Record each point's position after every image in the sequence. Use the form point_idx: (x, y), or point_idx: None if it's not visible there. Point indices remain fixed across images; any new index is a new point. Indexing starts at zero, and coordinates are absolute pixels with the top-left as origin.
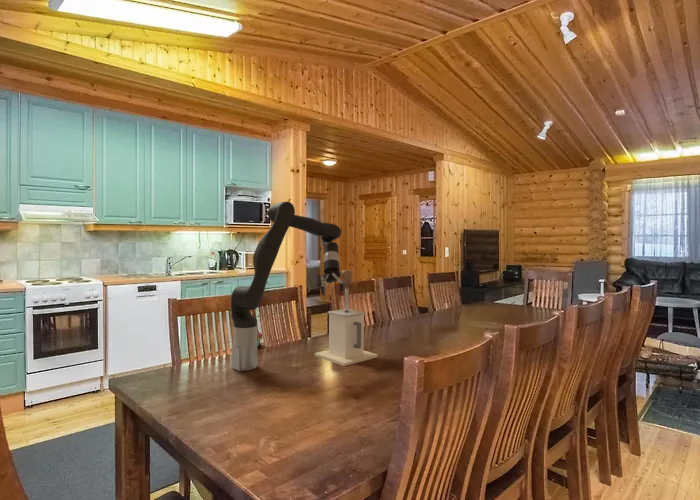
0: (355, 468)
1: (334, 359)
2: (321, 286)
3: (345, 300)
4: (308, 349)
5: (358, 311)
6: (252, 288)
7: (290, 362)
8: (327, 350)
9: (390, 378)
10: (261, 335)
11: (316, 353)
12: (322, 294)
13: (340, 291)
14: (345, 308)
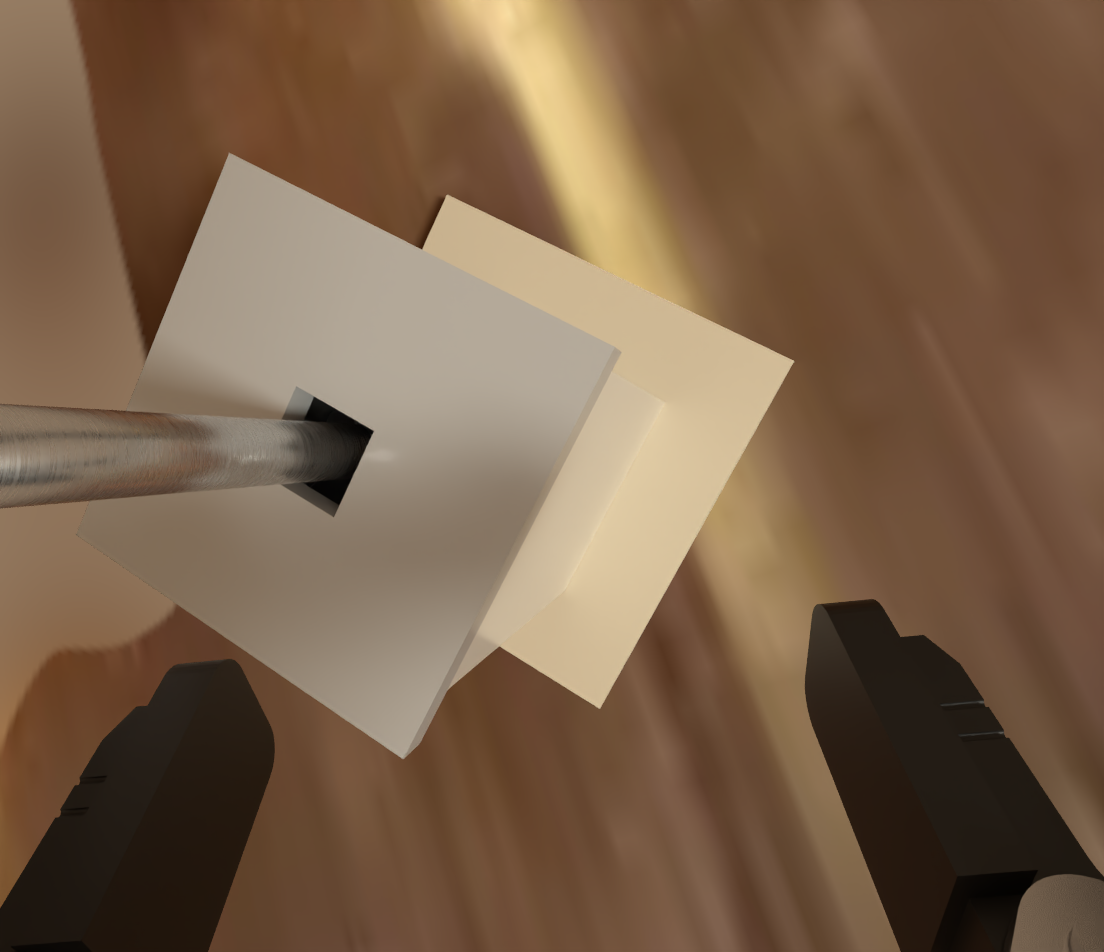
0: None
1: (552, 254)
2: (1091, 897)
3: (174, 417)
4: (949, 543)
5: (172, 554)
6: None
7: (920, 81)
8: (715, 490)
9: (127, 105)
10: None
11: (773, 355)
12: (863, 607)
13: (222, 664)
14: (284, 421)
